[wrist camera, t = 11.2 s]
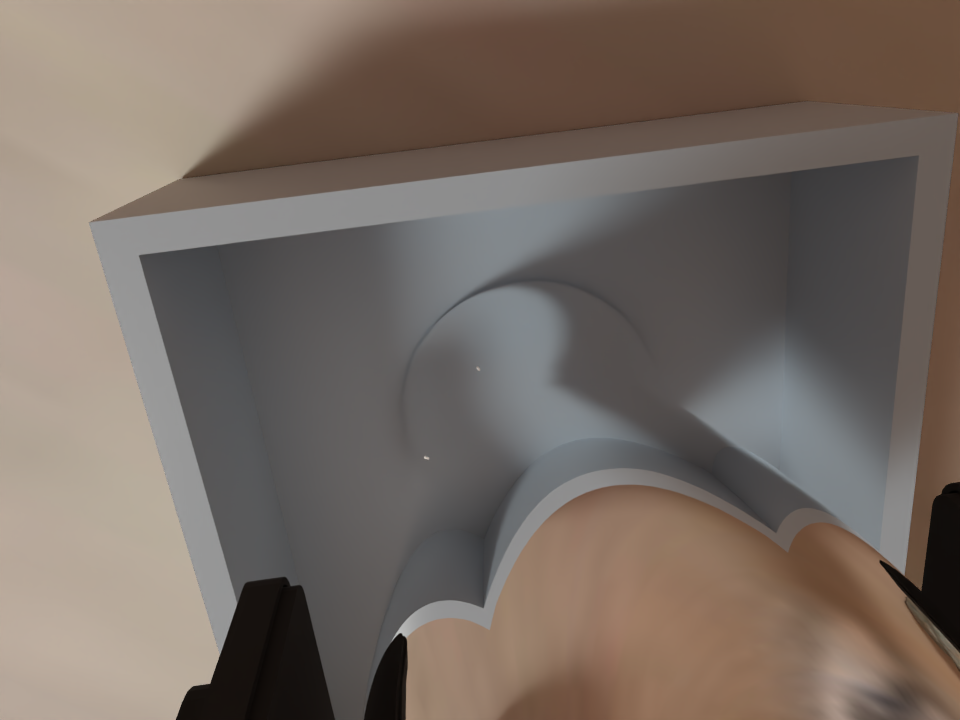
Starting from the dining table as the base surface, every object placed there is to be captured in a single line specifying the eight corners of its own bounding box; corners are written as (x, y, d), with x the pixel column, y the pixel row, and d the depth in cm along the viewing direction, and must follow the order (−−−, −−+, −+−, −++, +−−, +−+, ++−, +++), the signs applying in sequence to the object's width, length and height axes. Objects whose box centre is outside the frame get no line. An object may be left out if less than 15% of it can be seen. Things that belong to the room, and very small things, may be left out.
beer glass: (701, 282, 18) (1814, 1091, 4) (630, 535, 20) (1143, 1608, 6) (405, 238, 17) (389, 1111, 3) (367, 508, 19) (254, 1720, 5)
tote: (807, 101, 17) (958, 113, 12) (775, 797, 25) (858, 964, 20) (180, 178, 16) (88, 222, 12) (353, 866, 24) (341, 1054, 20)
